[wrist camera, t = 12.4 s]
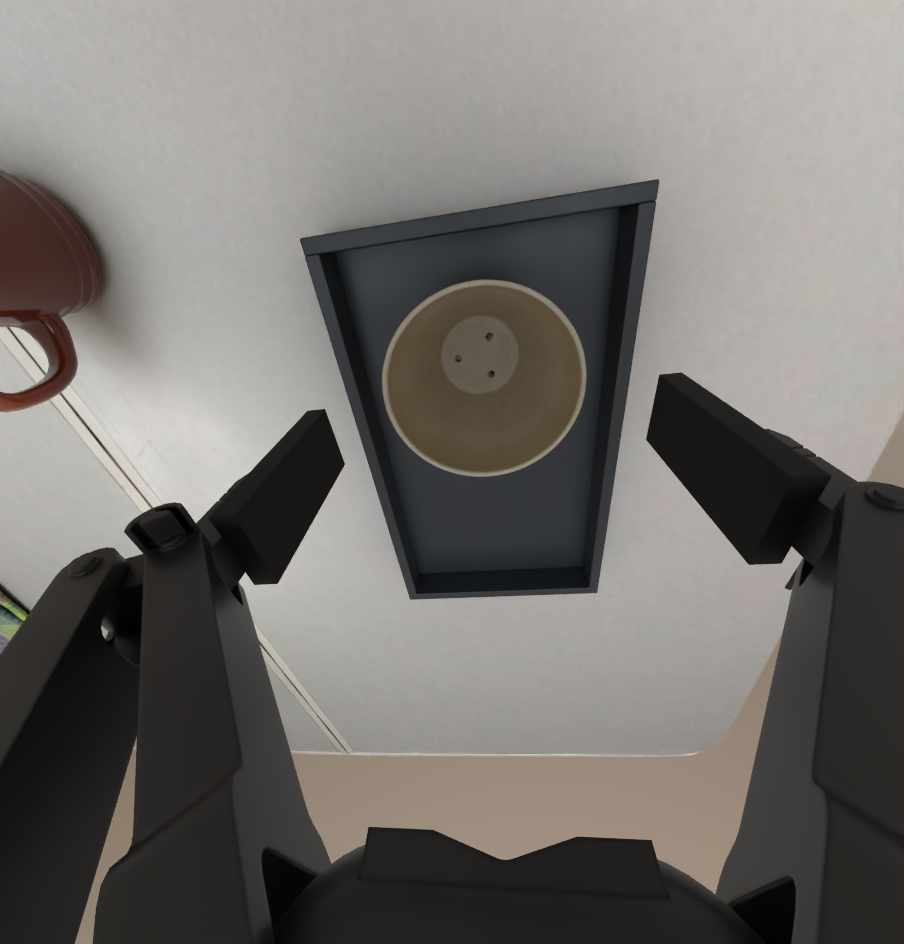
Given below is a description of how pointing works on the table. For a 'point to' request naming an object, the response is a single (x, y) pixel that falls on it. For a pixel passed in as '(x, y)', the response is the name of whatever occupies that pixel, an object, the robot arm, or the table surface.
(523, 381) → the flower pot
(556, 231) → the tray
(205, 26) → the table surface
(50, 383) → the mug
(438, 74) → the table surface
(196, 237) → the table surface
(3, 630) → the dish towel
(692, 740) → the table surface
